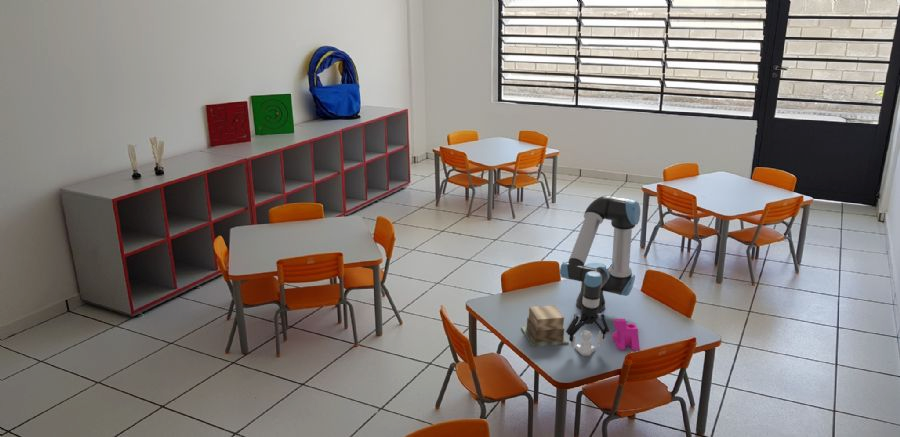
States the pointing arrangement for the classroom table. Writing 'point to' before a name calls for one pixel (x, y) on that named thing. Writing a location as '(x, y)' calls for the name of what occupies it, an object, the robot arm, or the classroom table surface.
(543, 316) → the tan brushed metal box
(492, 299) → the classroom table surface
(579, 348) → the seated beast figurine
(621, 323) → the bracket
